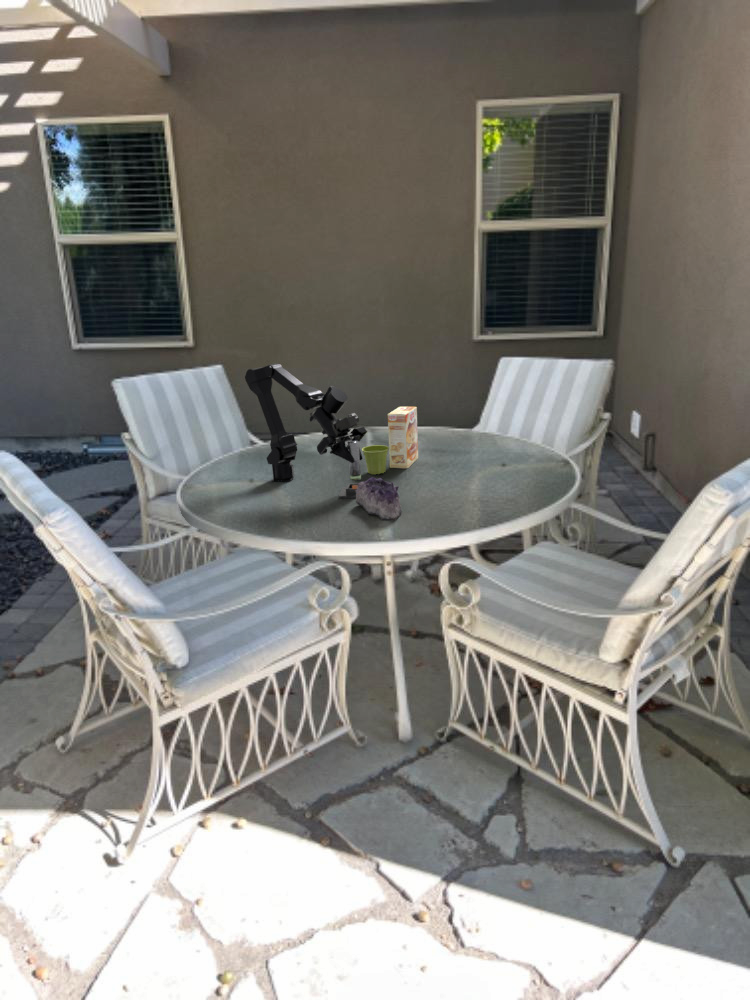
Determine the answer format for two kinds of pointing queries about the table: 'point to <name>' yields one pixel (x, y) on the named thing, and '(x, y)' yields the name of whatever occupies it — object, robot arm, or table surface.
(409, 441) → the coffeecake box
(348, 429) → the robot arm
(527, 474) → the table surface
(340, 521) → the table surface
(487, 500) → the table surface
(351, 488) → the stand base
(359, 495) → the geode
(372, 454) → the plant pot
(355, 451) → the column
